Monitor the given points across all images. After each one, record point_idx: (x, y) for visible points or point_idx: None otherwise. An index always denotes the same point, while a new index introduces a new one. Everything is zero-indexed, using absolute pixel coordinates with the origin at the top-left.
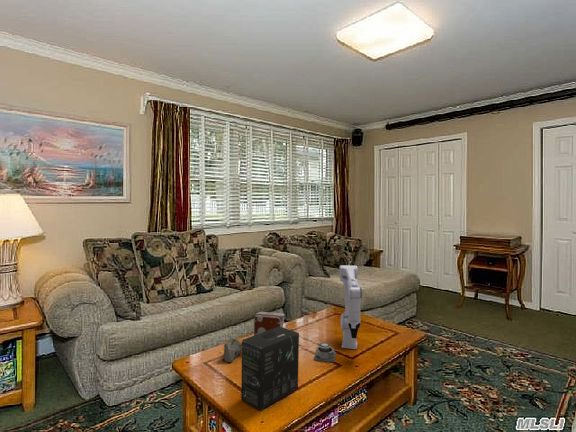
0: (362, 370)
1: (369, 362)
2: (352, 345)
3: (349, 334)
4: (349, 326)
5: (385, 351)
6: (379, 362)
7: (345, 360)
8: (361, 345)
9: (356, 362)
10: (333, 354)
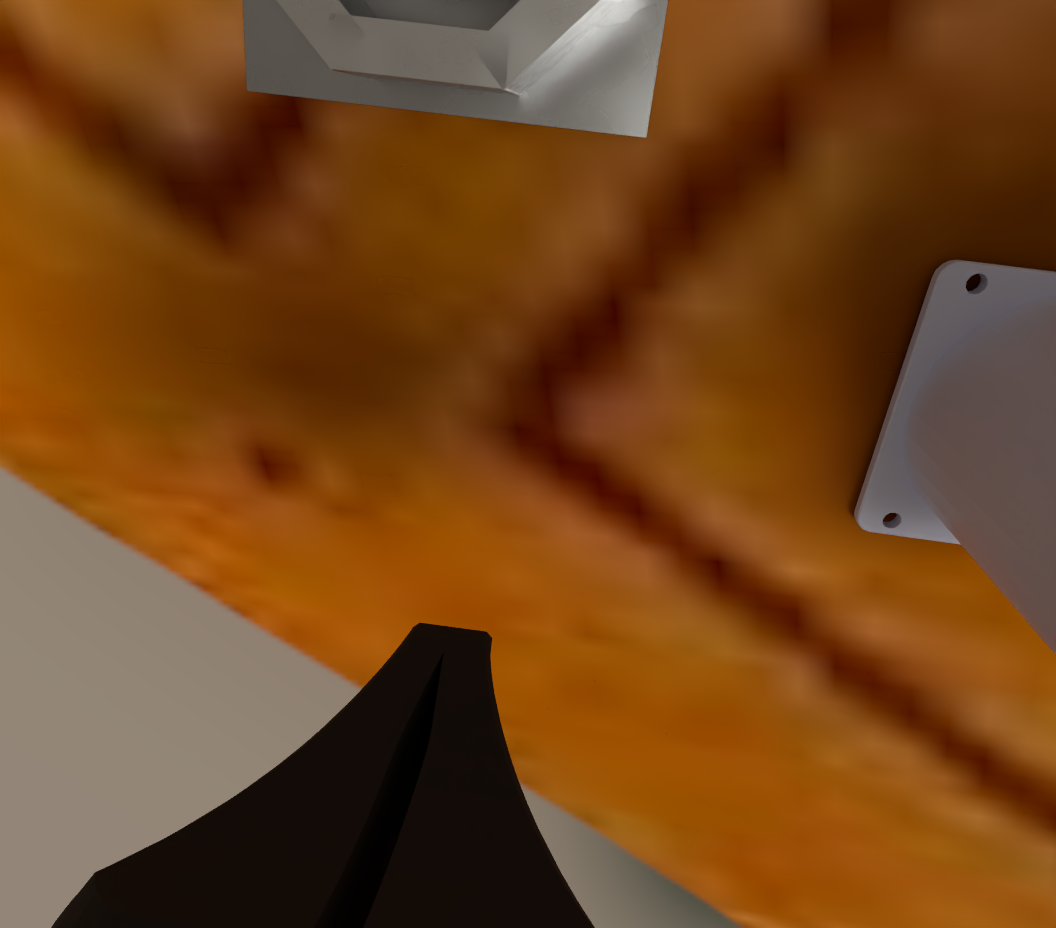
0: (167, 528)
1: None
2: (922, 484)
3: (1045, 538)
4: (75, 908)
5: (793, 858)
6: None
7: (408, 313)
8: None
9: (380, 476)
10: (374, 76)
